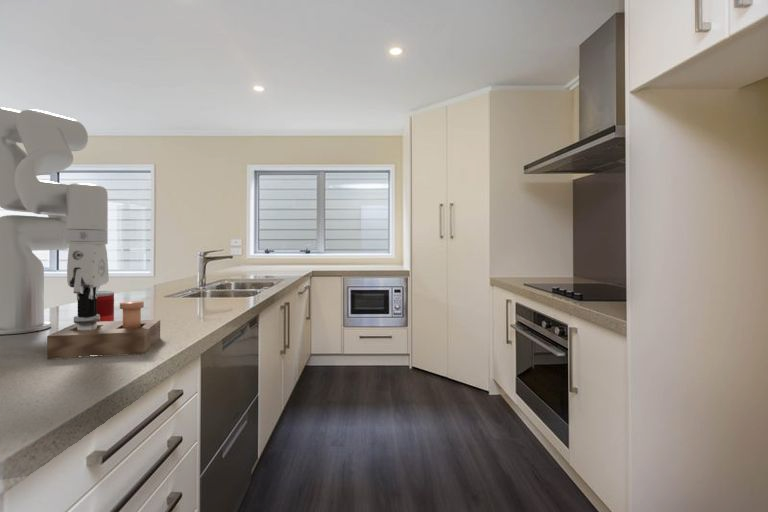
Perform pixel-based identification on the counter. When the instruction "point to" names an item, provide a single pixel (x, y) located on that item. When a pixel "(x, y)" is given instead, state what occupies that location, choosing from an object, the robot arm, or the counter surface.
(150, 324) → the socket block
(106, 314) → the canned food
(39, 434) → the counter surface
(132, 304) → the terracotta plug
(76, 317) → the grey plug
